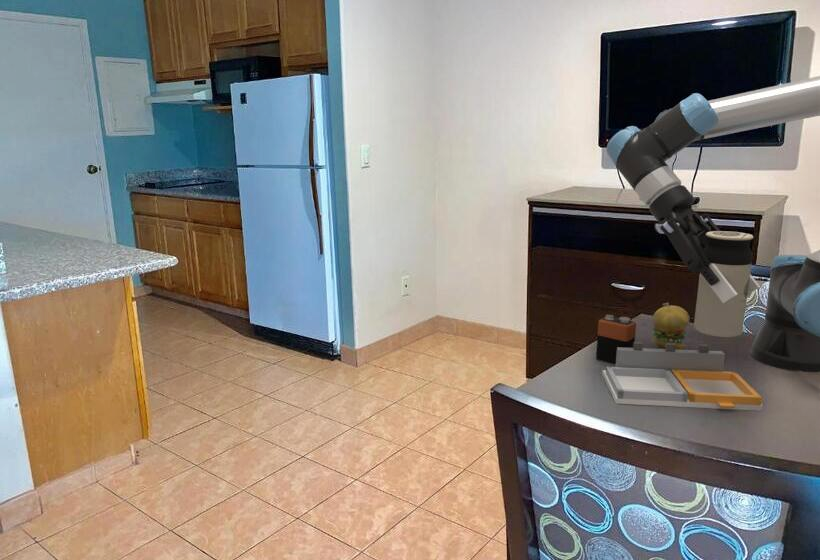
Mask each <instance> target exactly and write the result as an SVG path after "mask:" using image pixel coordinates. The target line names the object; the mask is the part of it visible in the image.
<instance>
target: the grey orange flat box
mask: <svg viewBox="0 0 820 560" xmlns="http://www.w3.org/2000/svg"><path fill="white" fill-rule="evenodd" d="M643 345H644V344H643V342H642V341H635V342H633V348H622V347H617V354H616V364H615V366H606V369H602V372H601V374H602V375H601V376H602V378H603V379H604V381H605V383H606V385H607V388H608V389H609V392H610V394H611V396H612V398H613V401H614V403H615V404H617V405H619V404H620V405H638V406H639V405H640V406H642V405H643V406H657V407H659V406H660V407H680V408H698V409H717V410H718V409H719V410H736V411H737V410H739V411H740V410H742V411H758V412H759V411H760V412H763V406H764V405H763V404H762V402H763V401H762V399H763V397H762V396H761V395H760V394H759V393H758V392H757V391H756V390H755V389H754V388H753V387H752V386H751V385H749V383H747V382H746V380H745V379H743V378H742V377H741V376H740V375H739V374H738V373H737V372H736V371H724V366H725V358H726V357H725V356H726V354H725V353H724V351H722V350H719V351H718V350H709V349H710V346H709V345H708V344H703V343H702V344H701V343H699V344H698V346H697V347H698V348H697V349H695V350H694V349H684V350H676V349H675V347H676V345H675V344H674V343H666V346H665V349H662V348H649V347H648V348H645V347H644V346H643Z"/></svg>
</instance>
